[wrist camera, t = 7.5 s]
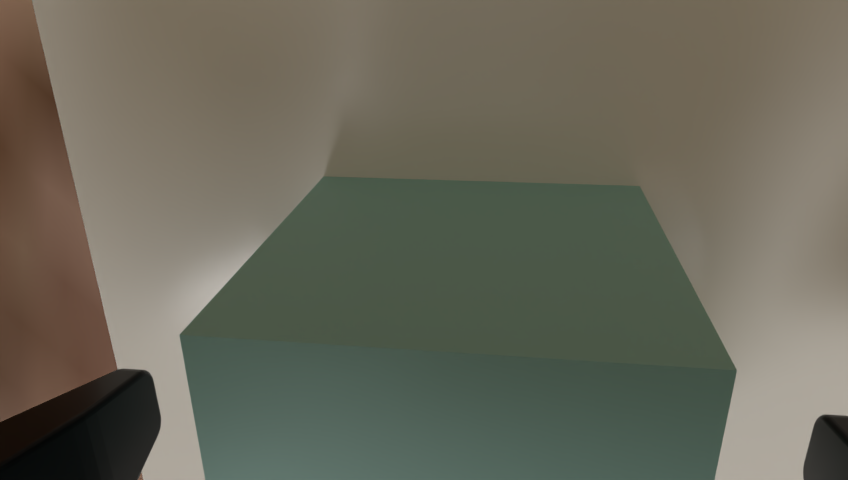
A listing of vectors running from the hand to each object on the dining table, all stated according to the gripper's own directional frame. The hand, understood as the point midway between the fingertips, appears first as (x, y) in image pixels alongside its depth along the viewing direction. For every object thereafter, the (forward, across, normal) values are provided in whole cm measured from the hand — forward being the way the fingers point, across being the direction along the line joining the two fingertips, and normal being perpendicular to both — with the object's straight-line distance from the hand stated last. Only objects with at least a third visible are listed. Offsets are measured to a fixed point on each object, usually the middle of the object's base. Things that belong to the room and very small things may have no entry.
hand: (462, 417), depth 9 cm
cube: (+3, 0, 0) cm, 3 cm away
